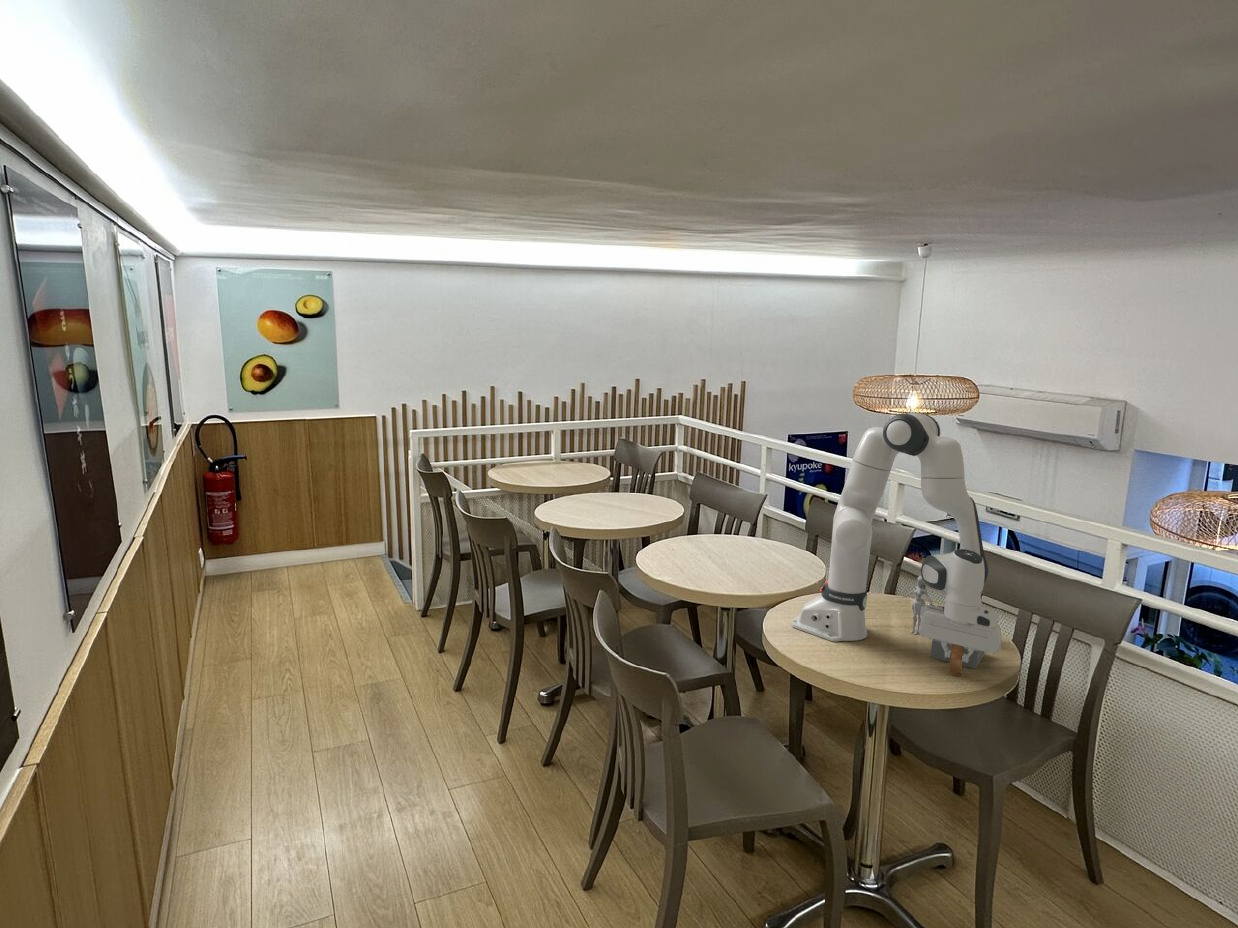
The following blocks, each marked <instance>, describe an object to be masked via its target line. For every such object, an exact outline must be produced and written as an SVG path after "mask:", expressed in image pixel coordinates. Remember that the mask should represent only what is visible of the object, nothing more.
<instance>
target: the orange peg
mask: <svg viewBox="0 0 1238 928" xmlns="http://www.w3.org/2000/svg"><path fill="white" fill-rule="evenodd" d="M963 651H964V646H960V645H955V644H952V648H951V657H950V662H949V665H948V674H949V675H951V676H954V677H960V676H961V675H962V668H963V665H962V655H963Z"/></svg>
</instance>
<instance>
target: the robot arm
mask: <svg viewBox="0 0 1238 928" xmlns="http://www.w3.org/2000/svg"><path fill="white" fill-rule="evenodd" d="M858 442H859V443H858V445H857V447H856V450H855V452H854V454H853V458H852V461H851V464H850V467H849V471H848V474H847V477H846V481H845V484H844V486H843V489H842V492H841V494H840V497H839V499H838V503H837V506H836V508H835V511H834V515H833V520H832V522H833V523H832V534H831V545H830V547H831V548H830V558H829V570H828V571H829V572H828V580H826V581H825V582H824V584H823V585H821V588H820V587H819V590H820V591H819V593H821V594H820V595H818V596H816V597H814V598H812V599H810V600H809V601H807V602H806V603H805V604H804V605H802V608H801V610H800V613H799V614H797V615H796V616H795V617H794V618H793V619H792V620H791V626H792V628H794V629H797V630H800V631H803V632H806V633H808V634H810V635H811V634H812V635H814V636H815V637H819V638H821V639H825V640H828V641H830V642H841V641H845V642H846V641H847V642H848V641H850V642H851V641H852V642H853V641H861V640H864V639H866V638H867V637H868V635H869V634H868V631H867V630H868V628H867V623H866V608H867V604H868V588H867V581H868V572H869V569H868V568H869V560H870V556H871V555H870V554H871V546H872V539H873V538H872V537H873V526H872V525H873V520H874V516H875V514H876V511H877V509H878V506H879V503H880V501H881V500H882V498H883V495H884V493H885V489H886V487H887V486H886V485H887V484H888V483H887V482H888V480H889V477H890V474H891V470H892V468H893V464H894V462H895V458H896V457H897V455H898V454H900V453H901V454H906V455H909V456H912V457H918V459H919V461H920V489H921V495H922V497H923V499H924V500H925V502H926V503H928V505H930V506H931V507H932V508H934V509H936V510H937V511H941V512H943V513H945V514H948V515H950V516H951V517H952V518H953V519H954V520H955V522H956V526H957V531H958V537H959V544H960V548H957V549H954V550H953V551H952V552H948V553H936V554H931V555H928V556H926V557H925V558H924V560H923V562H922V564H921V567H920V574H921V575H920V576H922V579H923V581H924V582H925V583H926V586H928V588H930V589H934V590H938V591H944V593H945V598H944V606H943V605H942V606H941V605H939V604H938V605H936V604H933V605H932V604H931V603H927V604H926V603H925V604H926V605H923V606H922V607H921V611H920V618H921V622H920V626H919V635H920V636H921V637H923V638H927V639H928V638H929V639H932V640H933V639H935V640H939V641H942V642H941V645H942V647H943V649H944V651H945V655H944V657H946V658H950V657H951V650H949V649H948V646H947V644H948V643H951V644H955V645H960V646H964V647H968V651H969V652H968V653H967V654H963V655H962V662H966V663H968V661H969V656H970V655H971V654H972V653H973V652H974V650H975V649H976V650H980V651H984V653H989V654H993V655H996V654H997V653H999V652H1000V651H1001V648H1002V647H1001V646H1002V631H1001V626H1000V624H998V623H999V620H1000V616H999V614H998V613H996V612H995V611H993V610H990V609H989V608H987V607H985V606H983V605H982V598H981V597H982V592H983V590H984V587H985V586H984V585H985V583H986V581H987V579H988V577H989V573H990V569H989V564H988V561H987V558H986V555H985V552H984V545H983V539H982V532H981V525H980V518H979V514H978V509H977V505H976V502H975V500H974V499H973V497H971V496H970V495H969V493H968V491H967V486H966V483H965V477H966V476H965V463H964V456H963V452H962V448H961V447H962V446H961V444H960V443H959V441H957V440H956V439H954V438H952V437H948V436H941V428H940V425H939V422H938V421H937V420H936V419H935V418H934V417H932V416H931V415H929V414H925V413H919V412H907V413H898V414H896V415H894V416H892V417H890V418H889V419H888V420H887V421H886V423H885V424H884V426H883V427H881V426H874V427H869V428H868V429H867V430H865V431H864V433H863V435H862V437H861V439H860V441H858Z"/></svg>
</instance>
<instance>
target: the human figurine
mask: <svg viewBox="0 0 1238 928" xmlns="http://www.w3.org/2000/svg"><path fill="white" fill-rule="evenodd" d="M912 593H913V594H914V595H915V598H914V599H913V601H912V603H911V609H912V614H913V616H912V620H913V622H912V629H911V630H910V631H909V633H910V634H913V635H918V634H919V635H920V633H919V626H920V622H921V619H922V617H921V615H920V611H921V607H922V606H923V605H926V601H925V599H923V598H922V597H923V595H924V596H926V598H927V600H928V602H929V604H932V605H934V603H933V601H932V599H931V598H930V597H929V594H928V589H927V584H926V583H925V582H924V581H923V579H922V575H919V576H918V577H917V585H916V586H915V587H913V589H912V590H910V591H909V592H908V593H906V594H905V595H903V597H902V598H907V597H908V596H909V595H911V594H912ZM916 625H917V629H916Z"/></svg>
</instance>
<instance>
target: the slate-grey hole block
mask: <svg viewBox="0 0 1238 928" xmlns="http://www.w3.org/2000/svg"><path fill="white" fill-rule="evenodd" d="M941 642H942V641H939V640H935V639H932V641H931V649H930V656H929V657H930V658H933V659H938V660H940V661H944V662H948V663H950V658H946V657H944V655H945V651H944V649H943V647H942V645H941ZM947 646H948V649H949V650H951V648H952V644H951V643H948V644H947ZM968 652H969V651H968V647H964V651H963V654H967V653H968ZM984 655H985V652H984V651H980V650H976V649H975V650H974V652H973V653H972V654H971V655H970V656H969V661H968V663H966V662H962V667H963V666H964V667H968V668H972V669H975V670H976V669H977V668H978V666H979V664H981V663H980V662H981V661H982V659H983V657H984Z"/></svg>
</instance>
